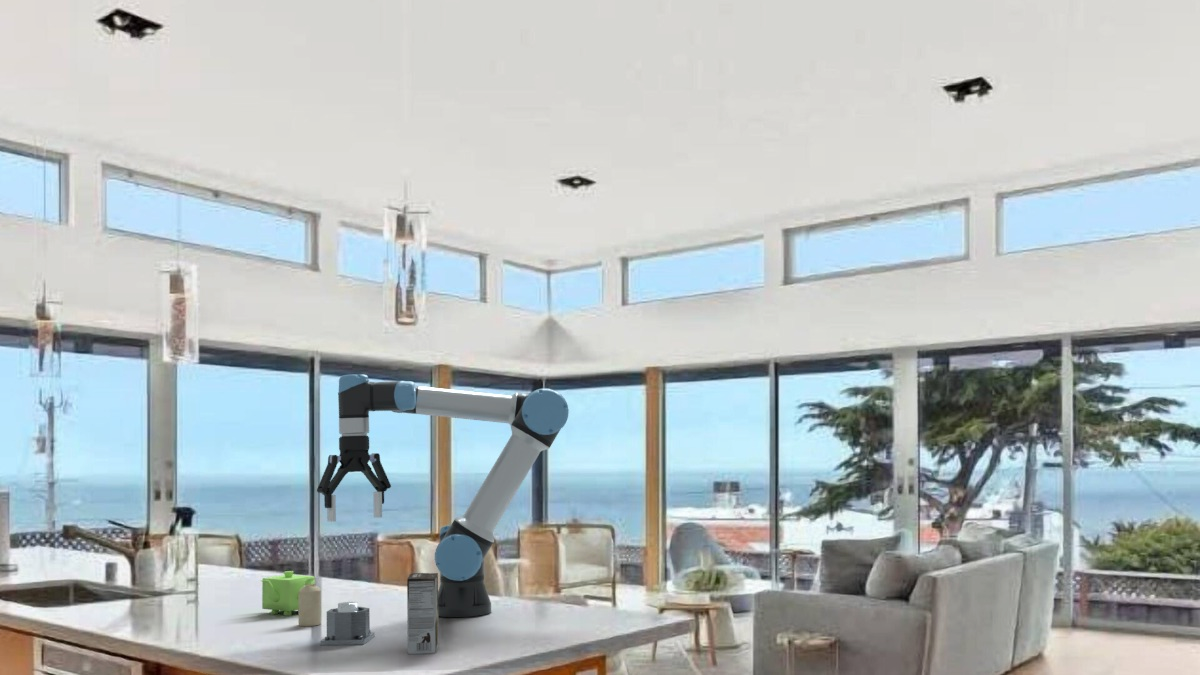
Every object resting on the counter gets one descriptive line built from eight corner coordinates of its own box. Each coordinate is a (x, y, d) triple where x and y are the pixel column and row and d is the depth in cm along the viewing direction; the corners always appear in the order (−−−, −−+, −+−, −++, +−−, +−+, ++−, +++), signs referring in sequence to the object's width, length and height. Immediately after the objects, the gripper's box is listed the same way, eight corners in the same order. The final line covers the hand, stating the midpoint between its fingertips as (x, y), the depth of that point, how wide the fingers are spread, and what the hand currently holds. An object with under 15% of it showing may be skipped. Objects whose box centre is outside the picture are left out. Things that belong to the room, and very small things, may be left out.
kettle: (315, 615, 290) (315, 572, 291) (260, 619, 286) (260, 576, 287) (315, 607, 304) (315, 566, 305) (263, 610, 301) (263, 569, 302)
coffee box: (410, 646, 241) (409, 573, 243) (439, 645, 242) (438, 572, 243) (406, 654, 232) (405, 578, 234) (436, 653, 233) (436, 577, 234)
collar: (375, 635, 250) (375, 609, 251) (340, 641, 244) (340, 614, 245) (351, 630, 258) (351, 605, 258) (317, 636, 252) (317, 609, 252)
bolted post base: (374, 636, 255) (374, 599, 256) (364, 644, 245) (364, 606, 246) (332, 637, 255) (332, 600, 256) (320, 645, 245) (320, 607, 246)
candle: (314, 626, 271) (314, 586, 272) (294, 626, 272) (294, 586, 273) (324, 622, 277) (324, 583, 278) (304, 622, 278) (304, 583, 279)
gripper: (386, 434, 287) (388, 515, 285) (302, 436, 270) (303, 522, 268) (403, 433, 282) (404, 515, 280) (318, 435, 264) (319, 523, 262)
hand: (355, 519), depth 274 cm, fingers open, 13 cm apart
